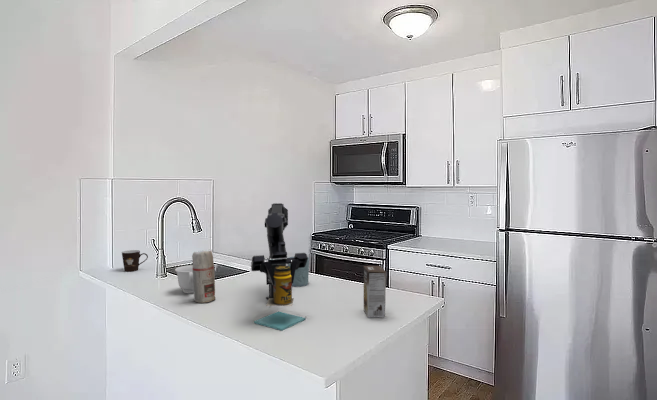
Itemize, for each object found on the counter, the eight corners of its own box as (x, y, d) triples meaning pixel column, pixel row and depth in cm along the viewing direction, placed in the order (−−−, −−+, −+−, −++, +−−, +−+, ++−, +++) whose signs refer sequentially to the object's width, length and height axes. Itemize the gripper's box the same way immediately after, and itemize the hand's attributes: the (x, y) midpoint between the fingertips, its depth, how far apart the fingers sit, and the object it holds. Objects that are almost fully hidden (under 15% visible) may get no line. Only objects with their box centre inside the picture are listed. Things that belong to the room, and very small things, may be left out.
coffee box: (362, 309, 145) (362, 265, 144) (380, 308, 145) (380, 265, 145) (367, 317, 136) (367, 271, 135) (385, 317, 136) (386, 270, 136)
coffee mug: (118, 272, 204) (117, 252, 204) (129, 268, 212) (128, 249, 212) (138, 272, 202) (138, 253, 202) (149, 269, 211) (148, 250, 210)
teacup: (175, 298, 158) (174, 273, 157) (175, 289, 171) (174, 266, 171) (207, 295, 162) (206, 271, 162) (204, 286, 176) (203, 264, 175)
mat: (254, 323, 131) (254, 321, 131) (278, 313, 141) (278, 311, 141) (281, 330, 124) (281, 328, 124) (305, 319, 134) (305, 317, 134)
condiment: (292, 306, 128) (291, 269, 127) (265, 306, 128) (265, 269, 127) (293, 298, 135) (293, 264, 135) (268, 299, 135) (268, 264, 134)
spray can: (194, 304, 150) (194, 252, 149) (191, 299, 157) (190, 249, 156) (217, 301, 154) (216, 250, 153) (213, 296, 161) (212, 247, 160)
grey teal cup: (308, 287, 175) (308, 260, 174) (285, 287, 175) (285, 260, 175) (310, 281, 185) (310, 255, 185) (288, 281, 185) (288, 255, 185)
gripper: (298, 255, 149) (306, 293, 139) (248, 258, 143) (252, 298, 133) (303, 238, 141) (312, 276, 131) (250, 240, 135) (255, 281, 125)
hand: (283, 283), depth 130 cm, fingers closed on condiment, 6 cm apart
